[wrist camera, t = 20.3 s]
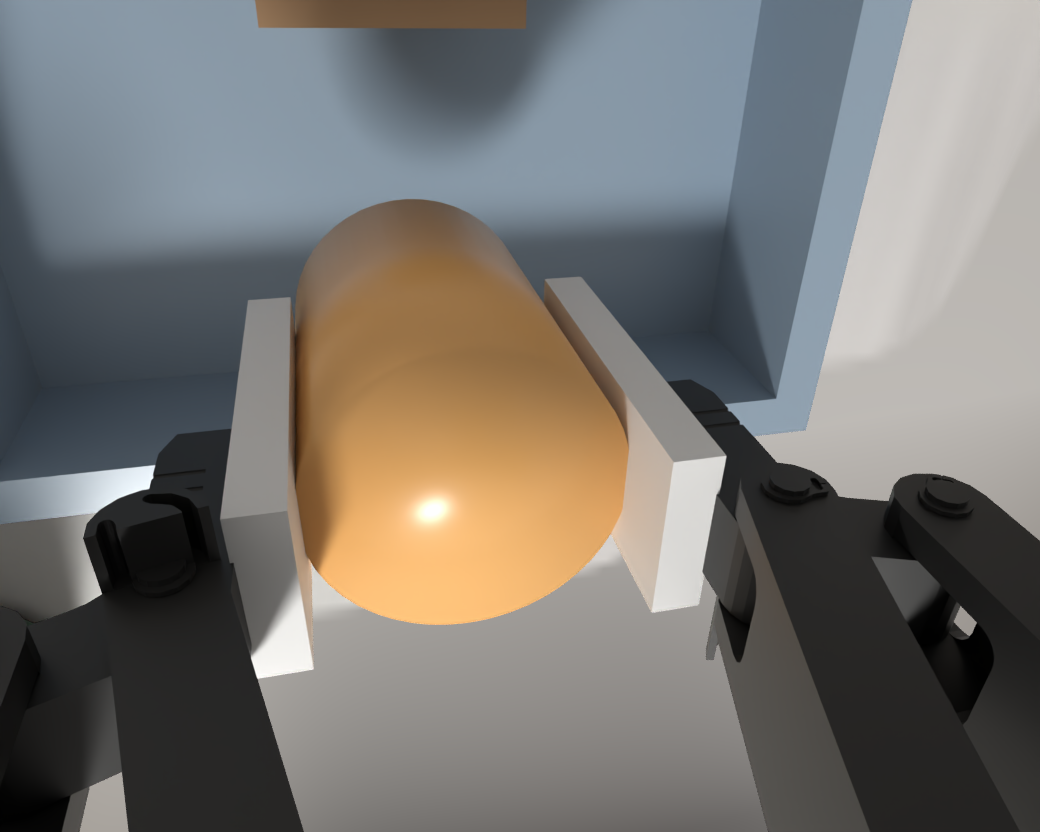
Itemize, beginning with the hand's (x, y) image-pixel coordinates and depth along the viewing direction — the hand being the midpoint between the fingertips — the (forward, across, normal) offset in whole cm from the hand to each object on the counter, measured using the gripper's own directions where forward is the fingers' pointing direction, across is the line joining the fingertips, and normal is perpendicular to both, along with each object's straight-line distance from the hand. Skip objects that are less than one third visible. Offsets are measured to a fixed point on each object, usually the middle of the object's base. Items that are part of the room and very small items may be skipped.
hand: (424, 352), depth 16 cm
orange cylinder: (+2, 0, 0) cm, 2 cm away
